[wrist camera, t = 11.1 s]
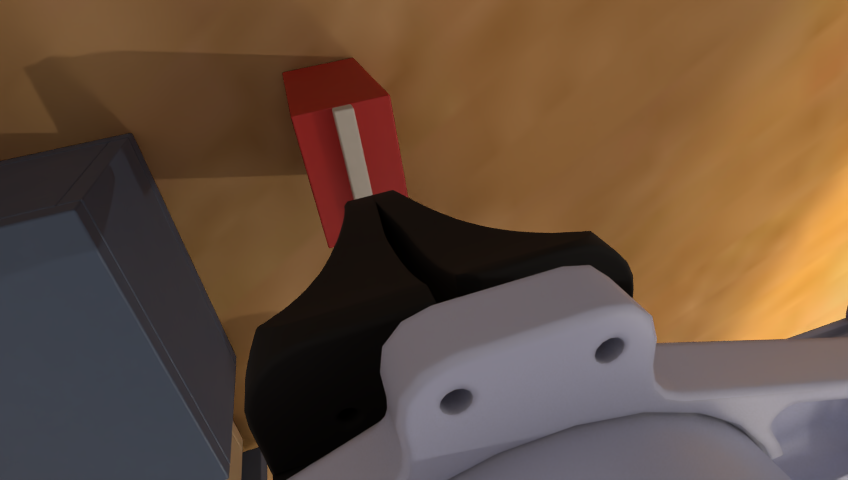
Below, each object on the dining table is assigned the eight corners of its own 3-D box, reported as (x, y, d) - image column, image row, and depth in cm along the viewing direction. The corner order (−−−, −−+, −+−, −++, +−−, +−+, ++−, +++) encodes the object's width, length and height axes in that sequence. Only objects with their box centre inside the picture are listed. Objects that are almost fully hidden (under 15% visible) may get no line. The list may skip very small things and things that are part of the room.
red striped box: (374, 159, 23) (417, 232, 17) (311, 175, 23) (330, 256, 16) (353, 57, 21) (393, 98, 15) (281, 72, 20) (291, 121, 14)
